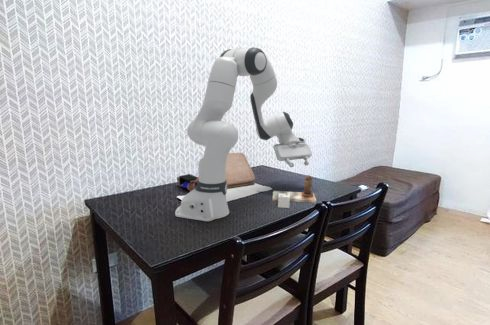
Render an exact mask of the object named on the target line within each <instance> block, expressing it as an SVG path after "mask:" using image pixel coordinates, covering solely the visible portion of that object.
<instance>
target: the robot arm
mask: <svg viewBox="0 0 490 325" xmlns="http://www.w3.org/2000/svg"><path fill="white" fill-rule="evenodd" d="M238 77H249V79H250V81H251V83H252V92H251V93H250V96H249V98H250V104H251V109H252V110H251V111H252V115H253V118H254V124H255V131H256V134H257V136H258V138H259V139H260V140H263V141H268V140H270V139H272V138H273V137H275V136H276V138H277V139H278V140H277V141H278V143H275V144H274V145H273V146H272V148H273V150H274V153H275V157H276V160H277V161H278V162H285V163H286V164H287V165H288V166H289V168H293V167H294V166H295V164H294V163H293V162H292V161H295V160H296V161H297V160H302V159H303V161H304V162H303V164H304V166H305V167H306V166H309V164H310V163H309V158H311V156H312V155H313V151H312V149H311V147H310V145H308V143H306V139H305V138H303V137H301V136H296V135H295V134H294V132H293V128H294V122H293V121H292V118H291V117H290V114H289V113H288V112H286V111H281V112H278V113H276V114H274V115H272V116H270V117H268V118H265V119H264V117H263V114H262V113H263V112H262V107H263V105H264V103H265V102H266V101H267V100H269V98H270V97H272V96H273V94H274V93H275V92H276V90H277V87H278V80H277V75H276V73H275V71H274V68H273V65H272V63H271V62H270V60H269V58H268V56H267V55H266V54H265V52H264V51H263V50H262V49H261V48H259V47H254V46H253V47H237V48H230V49H227V50H224V51H223V52H222V53H221V54H220V56H219V57H217V58H216V59H215V60H214V62H213V64H212V67H211V71H210V74H209V77H208V81H207V86H206V90H205V93H204V98H203V99H204V100H203V102H202V105H201V107H200V109H199V110H198V113H197V115H196V117H195V118H194V119H193V120H192V121H191V122H189V124H188V126H187V130H186V132H187V136H188V139H189V140H191V141H192V142H193V143H195V144H197V145H199V146H202V147H203V146H204V147H205V148H204V149H205V150H204V154H203V156H202V158H201V159H200V160H199V161H198V165H197V166H198V178H197V179H196V180H194V181H193V182H194V184H193V187H194V189H193V190H192V191H189V192H188V193H187V194H185V195H184V196H183V197H182V199H181V201H180V205H179V206H178V207H177V208H176V209H175V212H174V215H175V217H178V218H183V219H189V220H196V221H202V222H211V221H213V220H217V219H221V218H222V219H223V218H224V217H227V216H228V215H229V214H230V210H229V209H230V208H229V206H228V205H229V204H228V200H227V192H228V188H227V181H226V160H227V157H228V154H229V153H230V152H231V150H232V149H233V147H235V146H236V144H237V143H238V139H239V130H238V129H237V128H236V126H235V125H233V124H231V123H230V122H227V121H224V120H222V119H223V118H224V116H225V114H226V113H227V112H229V111H230V110H231V108H232V106H233V100H234V98H235V97H234V96H235V93H236V92H235V91H236V87H237V80H238V79H237V78H238Z"/></svg>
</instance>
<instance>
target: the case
mask: <svg viewBox="0 0 490 325" xmlns="http://www.w3.org/2000/svg"><path fill="white" fill-rule="evenodd" d="M255 180H256V176H255V174H254V171H253V170H252V166H251V165H250V163H249V161H248V159H247V157H246V155H245V154H244V153H243V152H229V154H228V157H227V160H226V181H227V189H230V188H231V189H232V188H236V187H237V188H238V187H243V186H244V187H245V186H249V185H254V184H255Z"/></svg>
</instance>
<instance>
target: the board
mask: <svg viewBox="0 0 490 325" xmlns="http://www.w3.org/2000/svg"><path fill="white" fill-rule="evenodd" d="M279 193H282V194H290V202H295V203H296V202H297V203H310V204H312V203H313V204H314V203H315V204H316V203H317V199H316V198H317V197H316V196H315V192H312V193H313V197H310V198H308V197H303V196H302V192H301V191H285V190H273V192H272V201H274V202H275V201H276V202H278V196H279Z"/></svg>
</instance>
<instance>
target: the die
mask: <svg viewBox="0 0 490 325" xmlns="http://www.w3.org/2000/svg"><path fill="white" fill-rule="evenodd" d="M290 202H291V201H290V194H282V193H279V196H278V201H277V208H284V209H290Z"/></svg>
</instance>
